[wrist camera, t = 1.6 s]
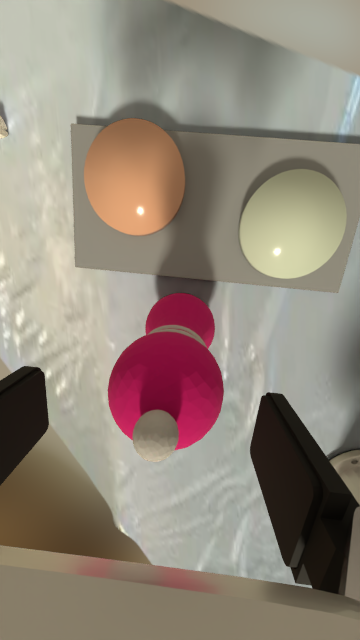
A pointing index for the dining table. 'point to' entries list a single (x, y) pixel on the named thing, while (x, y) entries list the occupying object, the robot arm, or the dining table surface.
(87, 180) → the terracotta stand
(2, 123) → the sitting furry creature
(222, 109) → the dining table surface
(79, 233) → the board
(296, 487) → the robot arm
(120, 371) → the pepper mill
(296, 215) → the pale green domed disc
